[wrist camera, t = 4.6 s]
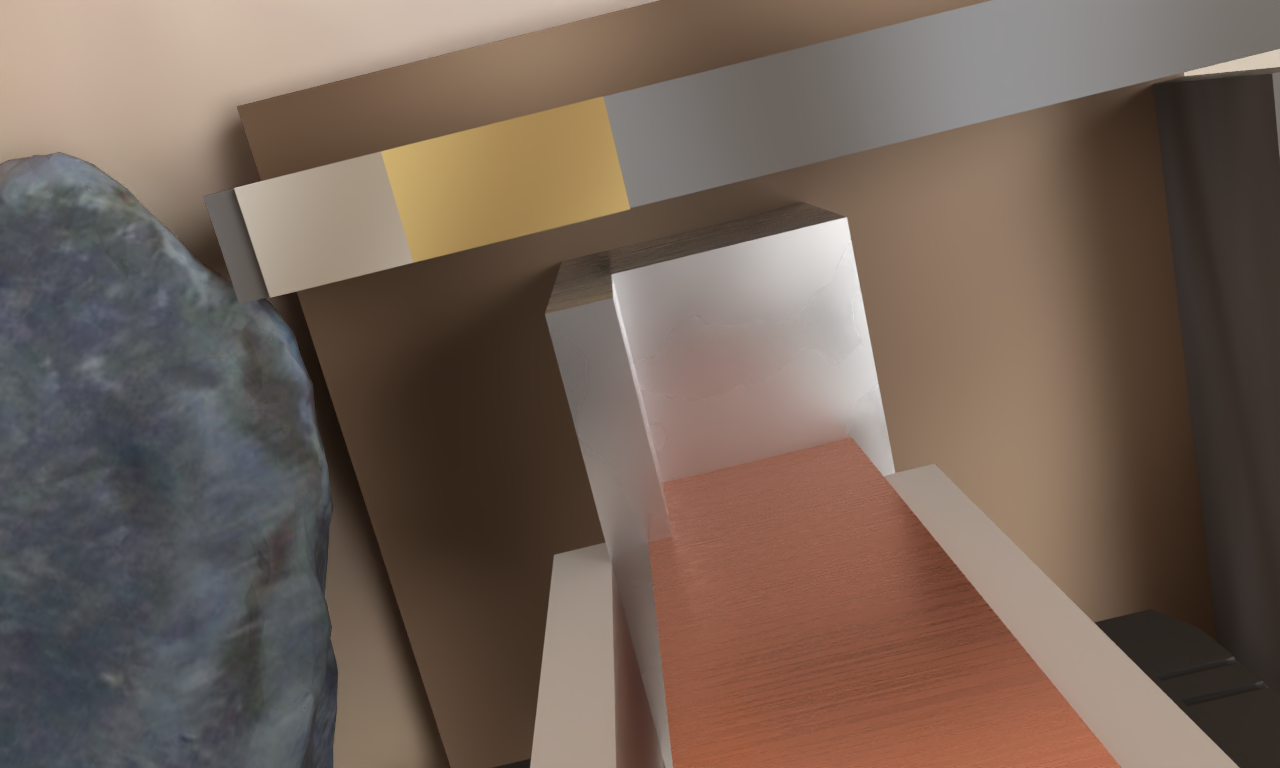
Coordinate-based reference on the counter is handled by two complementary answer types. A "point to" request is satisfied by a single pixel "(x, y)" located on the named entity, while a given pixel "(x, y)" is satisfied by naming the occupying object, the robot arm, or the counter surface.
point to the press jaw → (780, 517)
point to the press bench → (886, 265)
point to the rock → (151, 498)
